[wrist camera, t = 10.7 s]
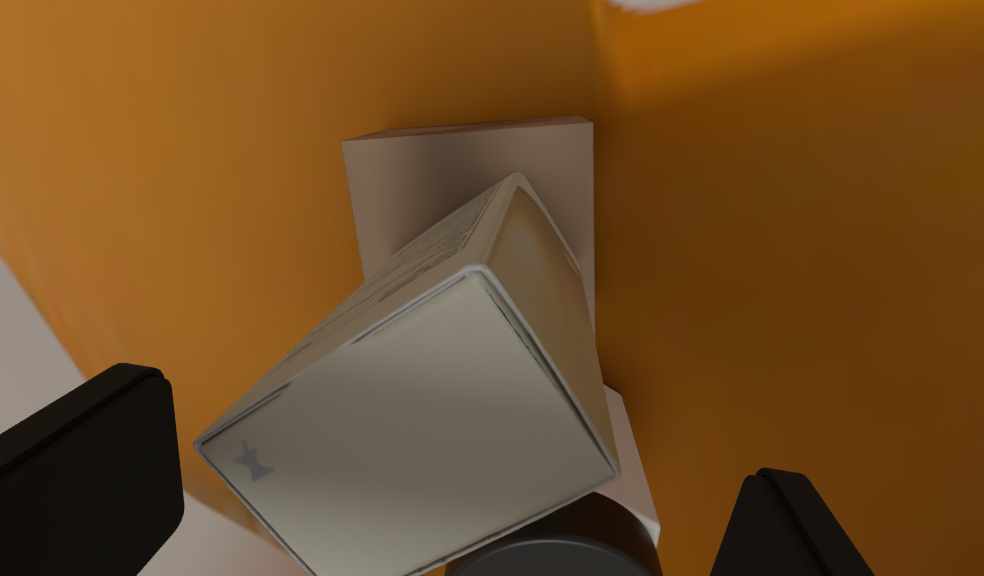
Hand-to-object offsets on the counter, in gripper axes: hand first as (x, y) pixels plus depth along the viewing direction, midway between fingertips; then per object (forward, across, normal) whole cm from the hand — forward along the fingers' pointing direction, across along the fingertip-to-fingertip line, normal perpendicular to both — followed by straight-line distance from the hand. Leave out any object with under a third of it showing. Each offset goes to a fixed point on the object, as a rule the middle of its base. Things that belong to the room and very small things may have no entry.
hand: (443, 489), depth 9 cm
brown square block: (+18, +1, 0) cm, 18 cm away
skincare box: (+12, +1, 0) cm, 12 cm away
